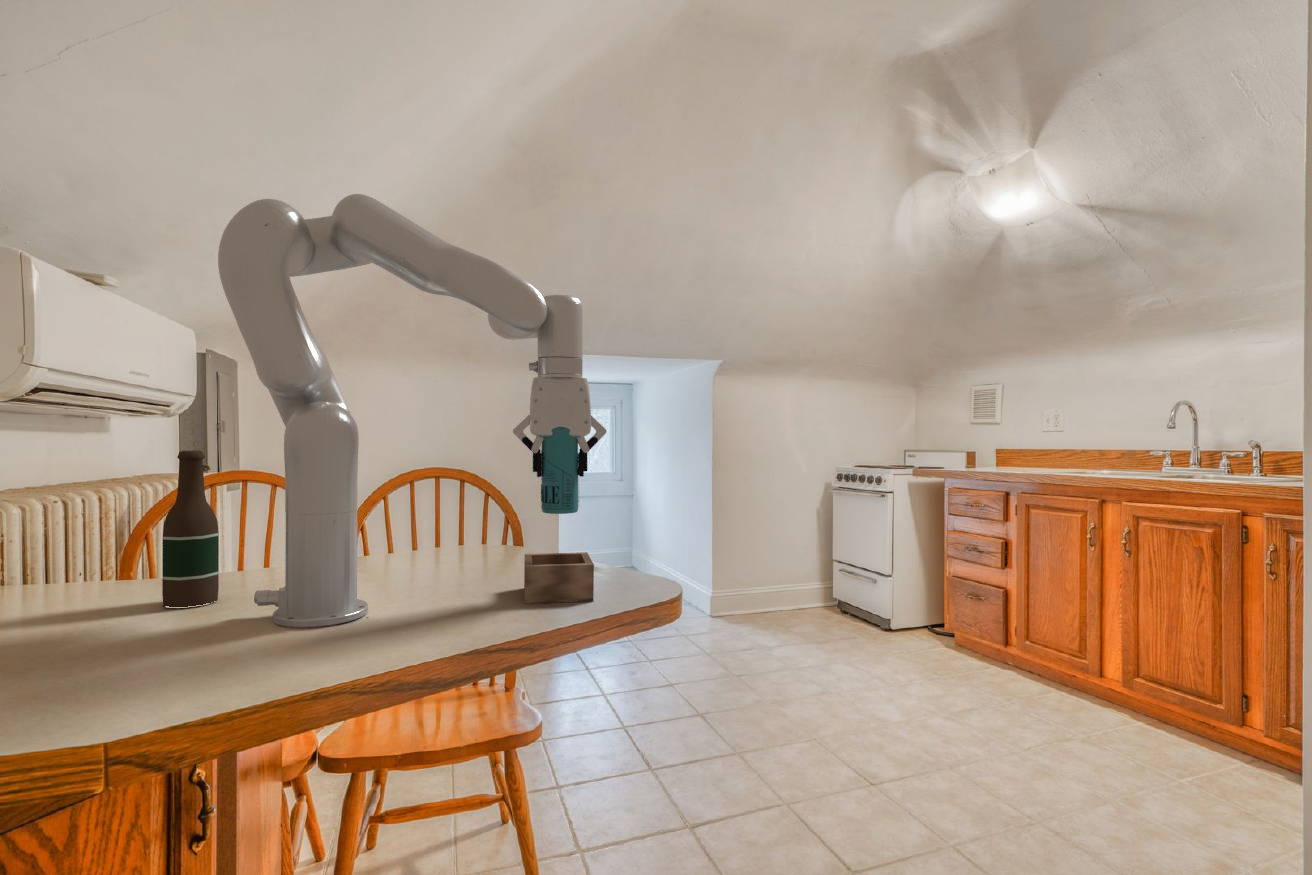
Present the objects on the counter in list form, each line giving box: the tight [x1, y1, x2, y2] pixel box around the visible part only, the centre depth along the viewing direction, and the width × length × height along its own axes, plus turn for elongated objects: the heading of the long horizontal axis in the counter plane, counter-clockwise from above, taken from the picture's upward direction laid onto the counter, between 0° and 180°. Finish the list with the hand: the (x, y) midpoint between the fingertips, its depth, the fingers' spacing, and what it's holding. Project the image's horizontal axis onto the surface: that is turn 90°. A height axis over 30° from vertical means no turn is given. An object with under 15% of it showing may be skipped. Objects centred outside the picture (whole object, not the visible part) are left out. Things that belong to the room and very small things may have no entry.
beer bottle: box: [161, 450, 220, 607], centre depth 106 cm, size 8×8×24 cm
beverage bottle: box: [540, 427, 580, 515], centre depth 115 cm, size 6×7×20 cm
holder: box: [523, 551, 595, 605], centre depth 115 cm, size 11×11×6 cm
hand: (560, 475), depth 115 cm, fingers closed on beverage bottle, 6 cm apart
